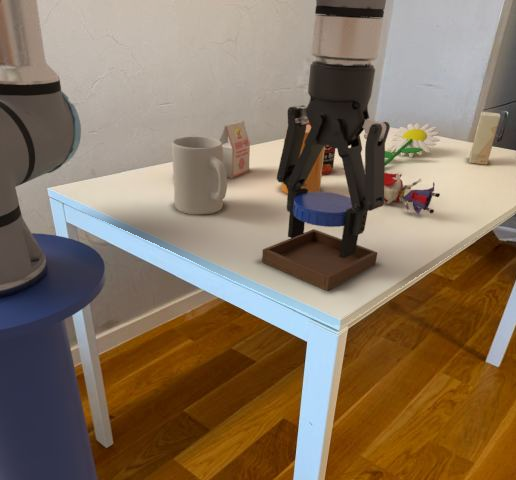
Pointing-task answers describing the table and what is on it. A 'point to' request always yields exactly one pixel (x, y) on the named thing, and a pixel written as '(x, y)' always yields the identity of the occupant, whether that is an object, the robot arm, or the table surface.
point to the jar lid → (321, 208)
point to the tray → (318, 259)
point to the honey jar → (316, 172)
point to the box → (484, 137)
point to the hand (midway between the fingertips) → (320, 244)
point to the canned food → (327, 158)
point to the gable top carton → (235, 149)
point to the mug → (198, 175)
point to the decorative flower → (412, 141)
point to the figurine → (407, 193)
